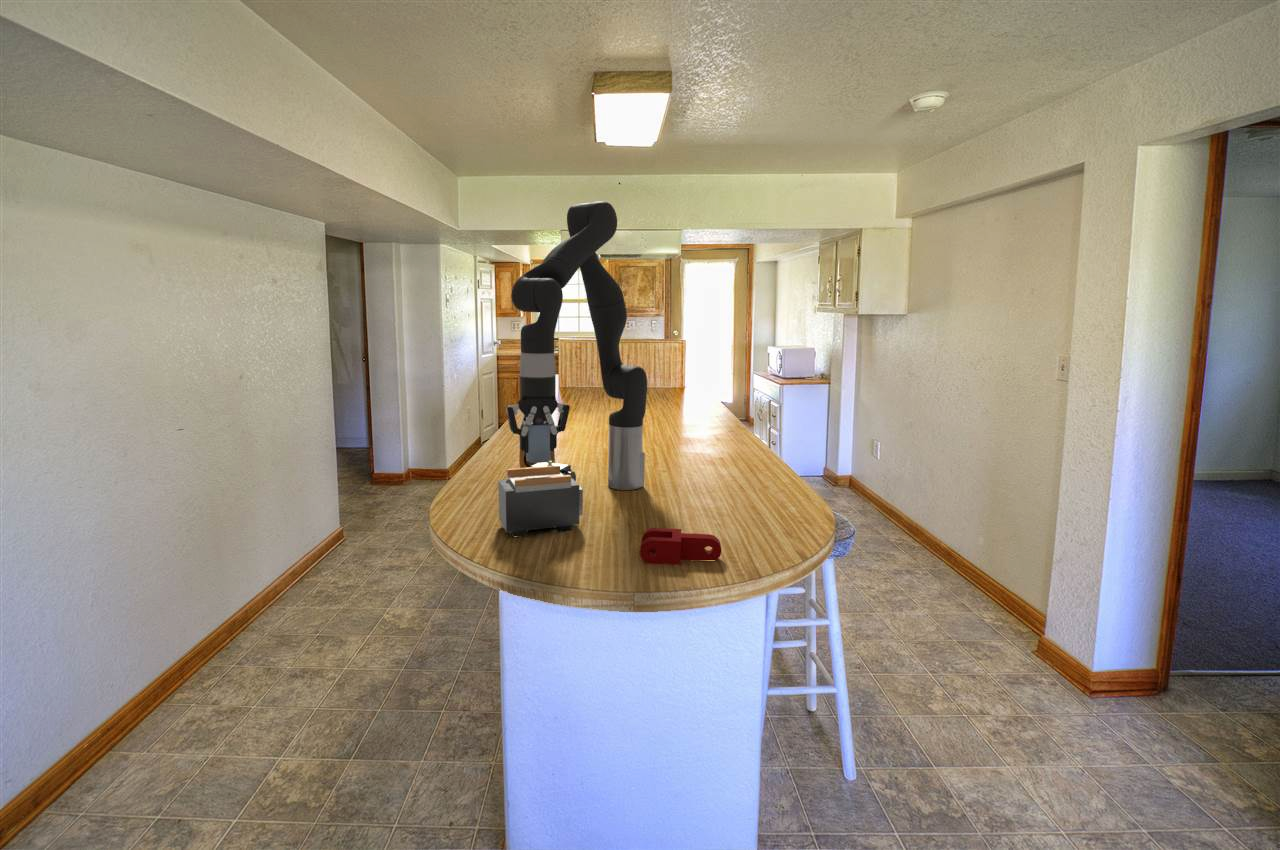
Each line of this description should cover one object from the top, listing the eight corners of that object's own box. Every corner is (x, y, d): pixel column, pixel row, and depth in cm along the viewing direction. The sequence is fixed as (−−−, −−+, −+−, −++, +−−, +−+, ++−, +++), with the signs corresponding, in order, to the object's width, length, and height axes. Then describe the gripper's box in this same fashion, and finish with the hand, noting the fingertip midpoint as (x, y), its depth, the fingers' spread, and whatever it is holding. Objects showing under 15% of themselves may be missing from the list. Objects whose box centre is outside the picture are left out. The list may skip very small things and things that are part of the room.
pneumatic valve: (568, 514, 156) (568, 465, 154) (524, 508, 159) (523, 460, 157) (577, 507, 161) (577, 460, 159) (534, 502, 164) (534, 455, 162)
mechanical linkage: (639, 564, 128) (639, 539, 127) (641, 550, 135) (642, 527, 134) (721, 568, 127) (722, 543, 126) (719, 554, 134) (720, 530, 133)
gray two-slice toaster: (572, 517, 154) (572, 464, 152) (585, 531, 145) (585, 474, 142) (498, 524, 148) (497, 469, 145) (506, 539, 139) (505, 481, 136)
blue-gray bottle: (547, 456, 146) (547, 414, 145) (553, 462, 142) (552, 418, 140) (524, 458, 145) (523, 415, 143) (529, 463, 140) (528, 419, 138)
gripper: (565, 371, 146) (565, 446, 149) (500, 372, 141) (502, 449, 144) (575, 375, 139) (574, 453, 142) (507, 376, 134) (508, 457, 137)
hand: (538, 451), depth 143 cm, fingers closed on blue-gray bottle, 5 cm apart
